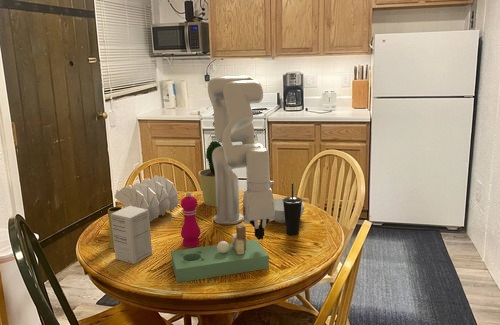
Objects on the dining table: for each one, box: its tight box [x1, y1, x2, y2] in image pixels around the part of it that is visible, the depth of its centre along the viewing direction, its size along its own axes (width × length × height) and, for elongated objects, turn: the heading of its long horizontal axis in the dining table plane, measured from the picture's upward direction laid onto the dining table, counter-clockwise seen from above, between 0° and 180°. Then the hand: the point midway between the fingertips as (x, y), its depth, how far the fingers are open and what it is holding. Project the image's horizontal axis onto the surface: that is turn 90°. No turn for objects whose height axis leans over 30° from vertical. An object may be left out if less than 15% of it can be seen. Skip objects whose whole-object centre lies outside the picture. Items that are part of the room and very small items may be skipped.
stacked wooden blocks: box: [231, 223, 247, 254], centre depth 156 cm, size 8×3×8 cm, turn 16°
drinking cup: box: [283, 183, 304, 237], centre depth 179 cm, size 8×8×20 cm
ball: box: [216, 240, 229, 253], centre depth 155 cm, size 4×4×4 cm
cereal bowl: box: [273, 197, 305, 224], centre depth 195 cm, size 17×17×7 cm
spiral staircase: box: [114, 174, 180, 223], centre depth 199 cm, size 18×18×25 cm
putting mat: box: [170, 239, 270, 284], centre depth 155 cm, size 14×30×4 cm, turn 106°
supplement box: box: [111, 206, 153, 265], centre depth 162 cm, size 10×9×17 cm
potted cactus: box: [198, 140, 222, 207], centre depth 216 cm, size 15×15×30 cm
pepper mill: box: [180, 192, 202, 248], centre depth 171 cm, size 7×7×20 cm
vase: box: [107, 206, 123, 249], centre depth 173 cm, size 6×6×14 cm
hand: (259, 238), depth 157 cm, fingers closed
